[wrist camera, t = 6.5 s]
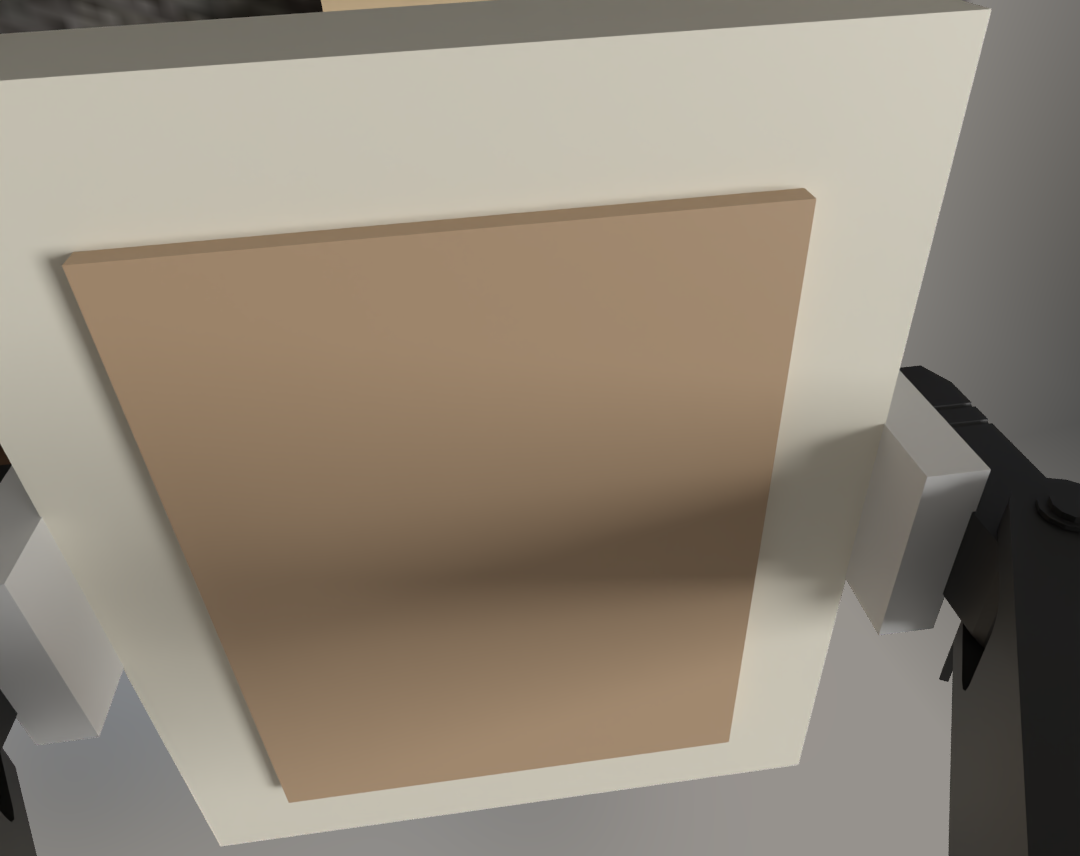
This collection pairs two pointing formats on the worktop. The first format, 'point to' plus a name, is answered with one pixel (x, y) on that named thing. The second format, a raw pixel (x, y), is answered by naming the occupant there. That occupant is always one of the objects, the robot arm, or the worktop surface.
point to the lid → (467, 376)
